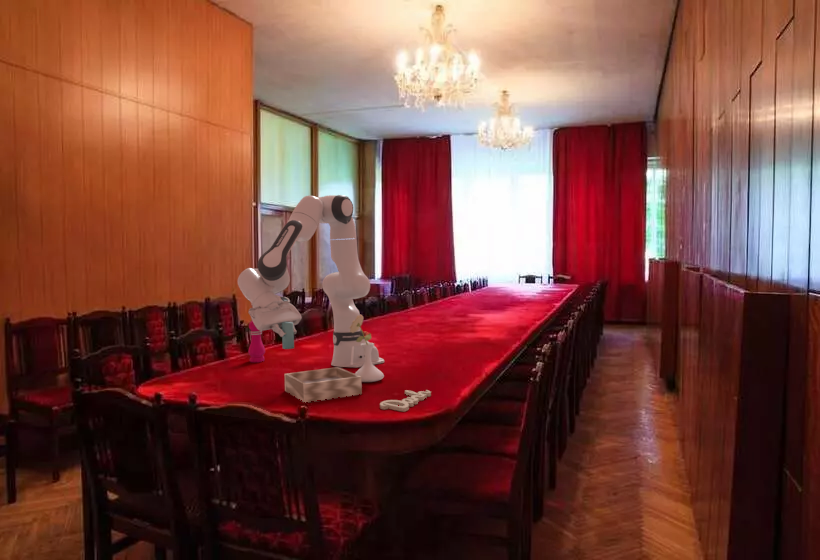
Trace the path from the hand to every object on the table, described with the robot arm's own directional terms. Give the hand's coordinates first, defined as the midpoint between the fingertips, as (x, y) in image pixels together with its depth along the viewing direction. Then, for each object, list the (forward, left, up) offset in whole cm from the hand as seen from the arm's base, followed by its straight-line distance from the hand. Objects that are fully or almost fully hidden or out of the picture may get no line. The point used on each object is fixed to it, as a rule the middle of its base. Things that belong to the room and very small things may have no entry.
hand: (289, 334), depth 215 cm
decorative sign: (-25, +39, -20) cm, 51 cm away
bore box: (-7, +12, -19) cm, 24 cm away
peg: (0, -1, -5) cm, 5 cm away
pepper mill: (-5, -62, -19) cm, 65 cm away
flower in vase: (-27, +5, -19) cm, 34 cm away
